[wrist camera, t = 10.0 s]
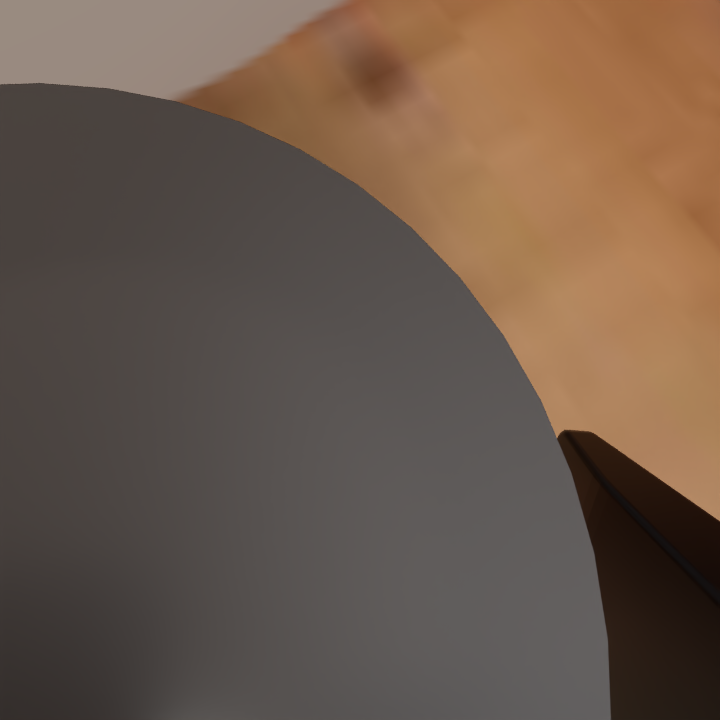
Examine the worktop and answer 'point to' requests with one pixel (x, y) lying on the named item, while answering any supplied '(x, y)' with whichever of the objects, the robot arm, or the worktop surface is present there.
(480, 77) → the worktop surface
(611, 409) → the worktop surface
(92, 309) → the cylindrical peg
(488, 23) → the worktop surface
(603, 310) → the worktop surface
